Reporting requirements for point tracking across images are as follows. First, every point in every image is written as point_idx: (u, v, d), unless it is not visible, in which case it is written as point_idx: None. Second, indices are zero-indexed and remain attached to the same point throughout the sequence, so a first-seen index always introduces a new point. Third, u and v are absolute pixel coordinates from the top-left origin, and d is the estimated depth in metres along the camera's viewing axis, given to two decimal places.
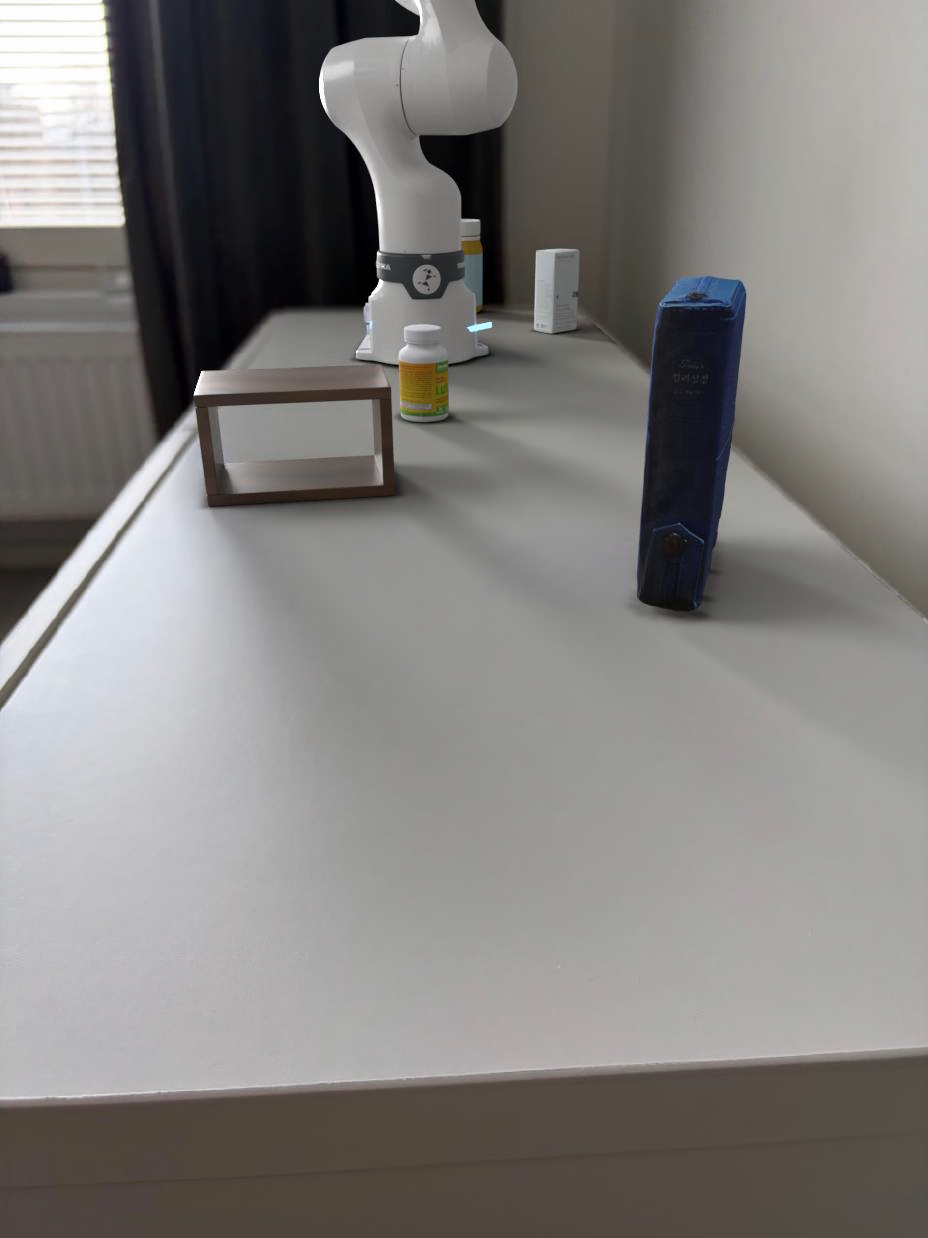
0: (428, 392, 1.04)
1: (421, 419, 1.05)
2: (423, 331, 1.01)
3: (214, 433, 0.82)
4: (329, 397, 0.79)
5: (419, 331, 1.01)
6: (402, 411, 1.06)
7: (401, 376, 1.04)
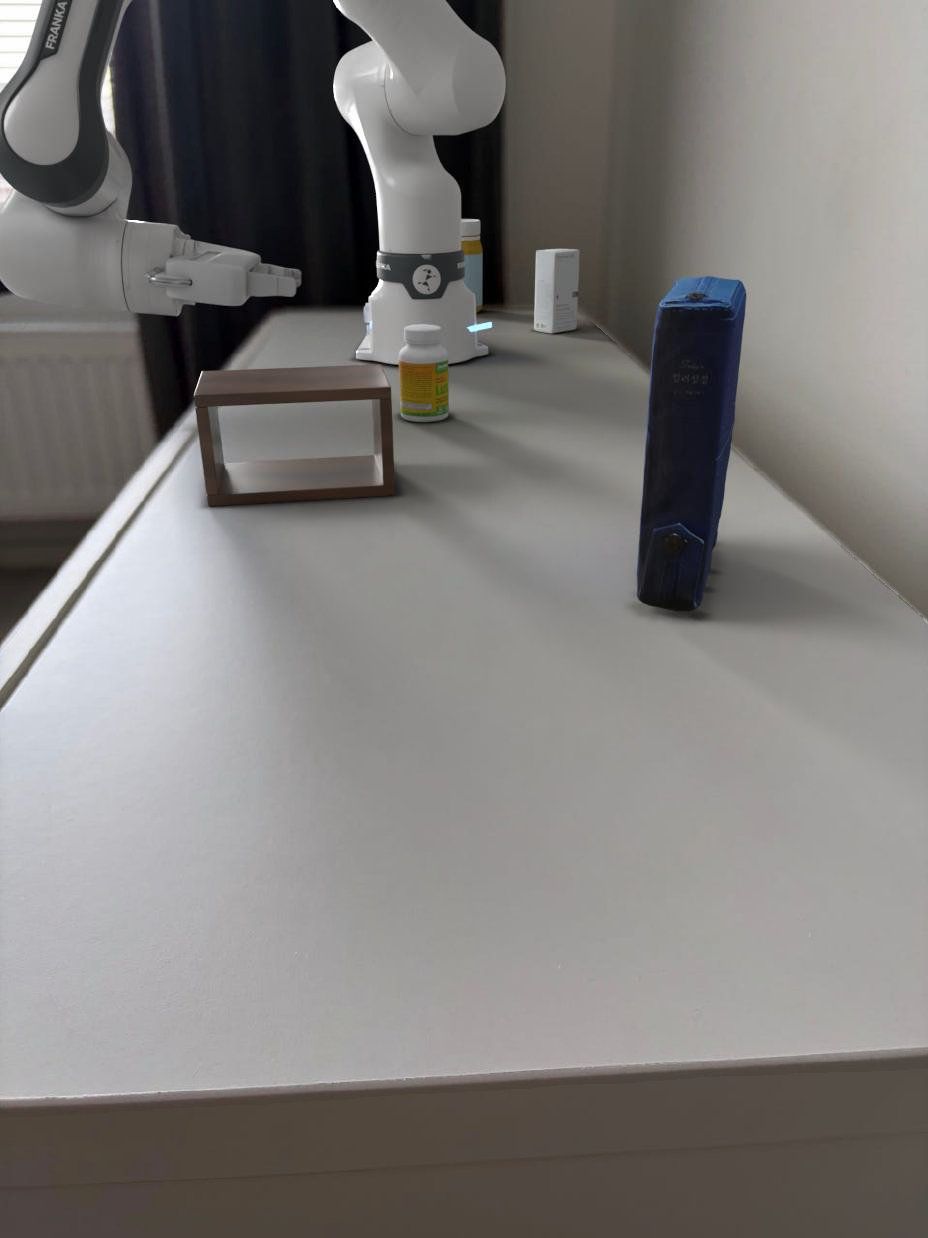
0: (428, 392, 1.04)
1: (421, 419, 1.05)
2: (423, 331, 1.01)
3: (214, 433, 0.82)
4: (329, 397, 0.79)
5: (419, 331, 1.01)
6: (402, 411, 1.06)
7: (401, 376, 1.04)
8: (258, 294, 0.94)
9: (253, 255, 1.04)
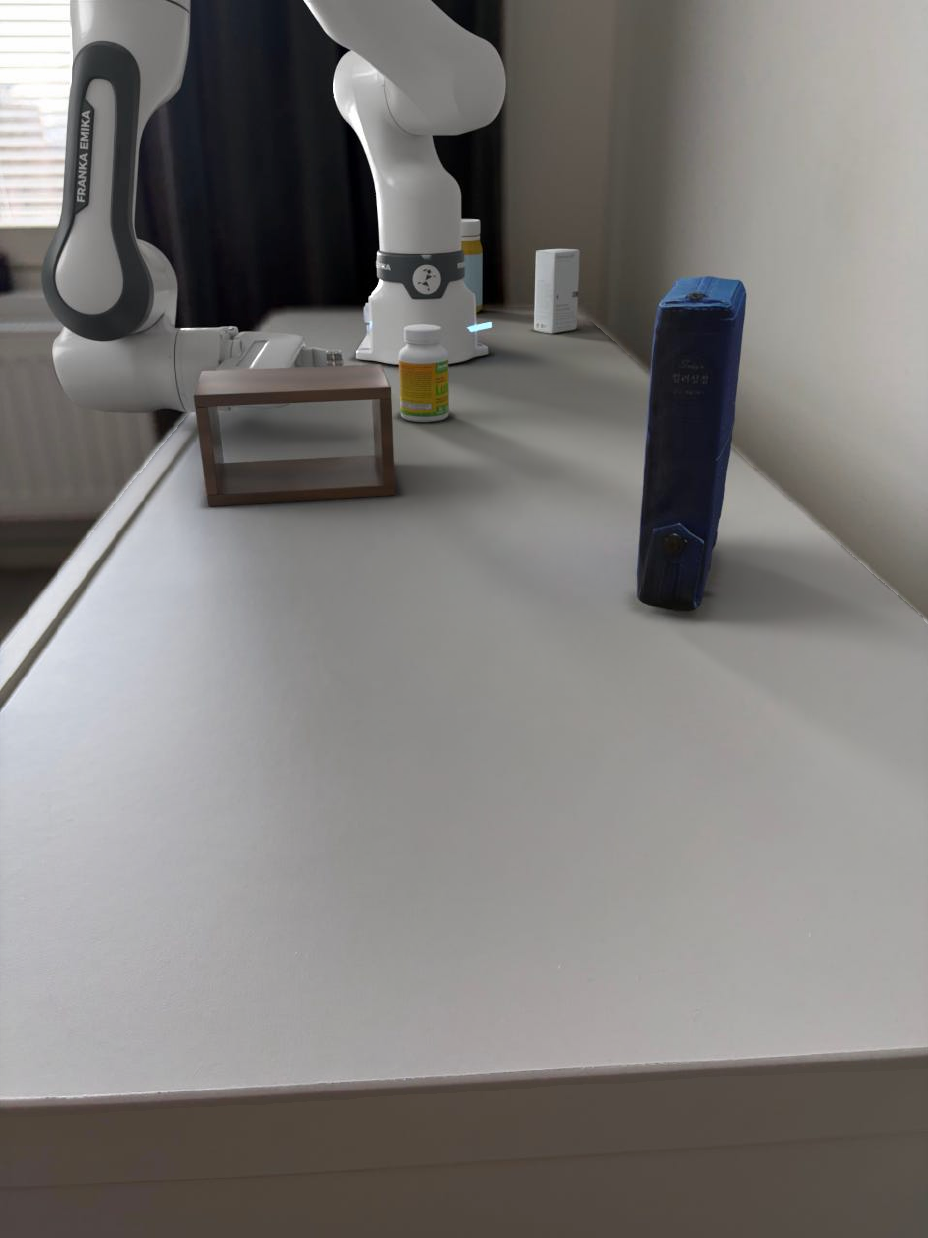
0: (428, 392, 1.04)
1: (421, 419, 1.05)
2: (423, 331, 1.01)
3: (214, 433, 0.82)
4: (329, 397, 0.79)
5: (419, 331, 1.01)
6: (402, 411, 1.06)
7: (401, 376, 1.04)
8: None
9: (297, 340, 1.09)
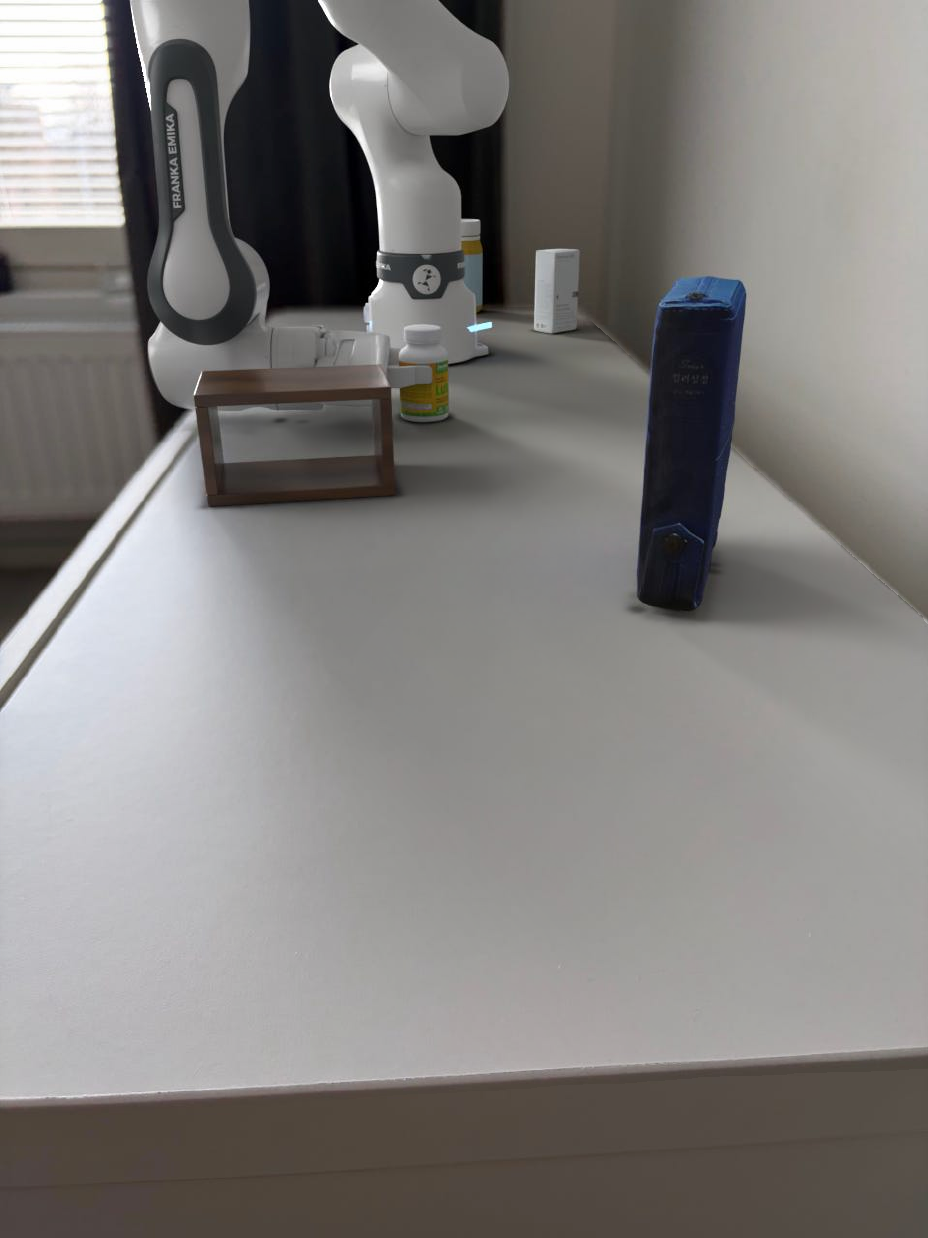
0: (428, 392, 1.04)
1: (421, 419, 1.05)
2: (423, 331, 1.01)
3: (214, 433, 0.82)
4: (329, 397, 0.79)
5: (419, 331, 1.01)
6: (402, 411, 1.06)
7: None
8: (399, 386, 1.01)
9: (384, 339, 1.10)
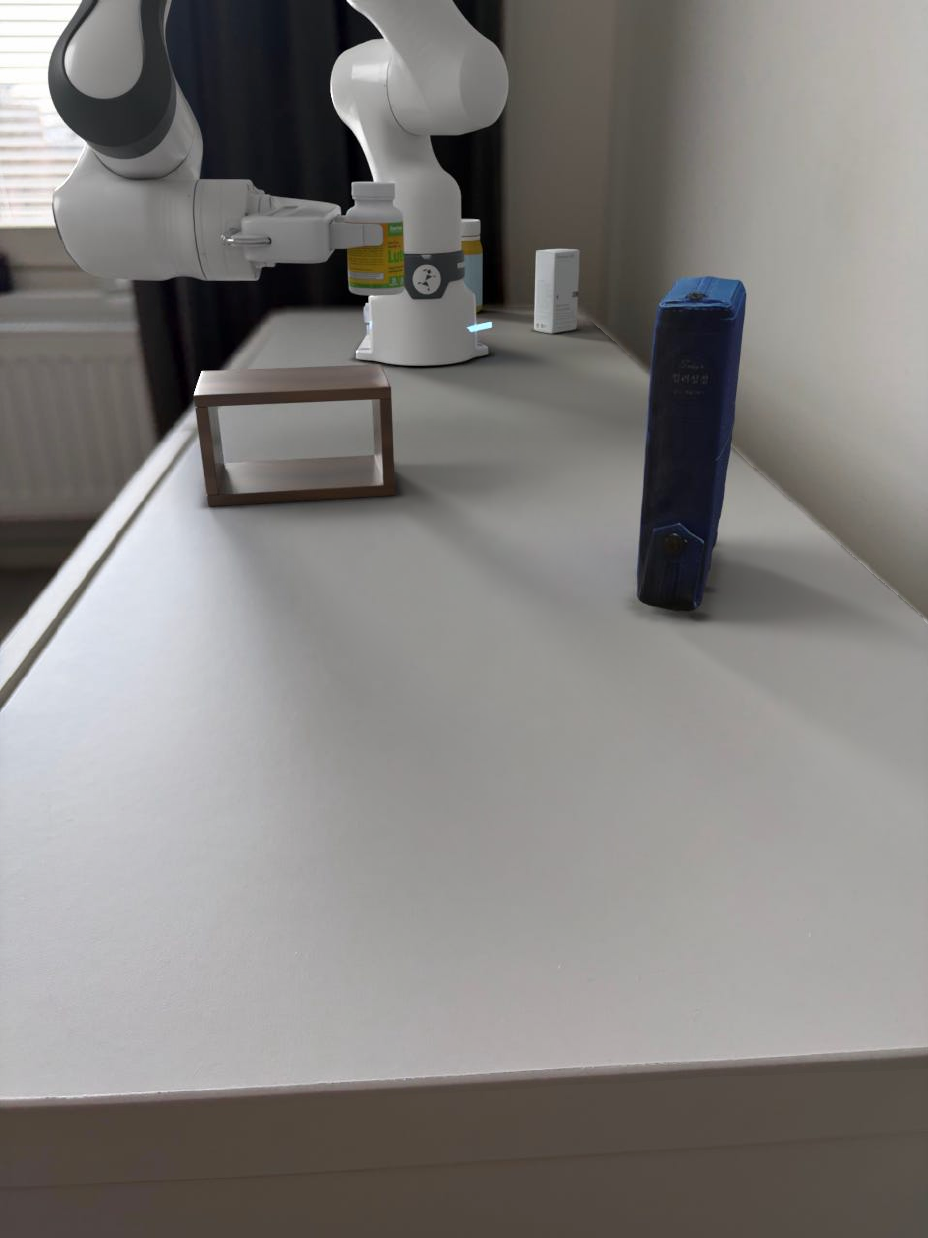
0: (380, 258, 0.89)
1: (371, 291, 0.91)
2: (373, 184, 0.87)
3: (214, 433, 0.82)
4: (329, 397, 0.79)
5: (368, 184, 0.87)
6: (350, 283, 0.92)
7: None
8: (343, 246, 0.86)
9: (332, 206, 0.95)
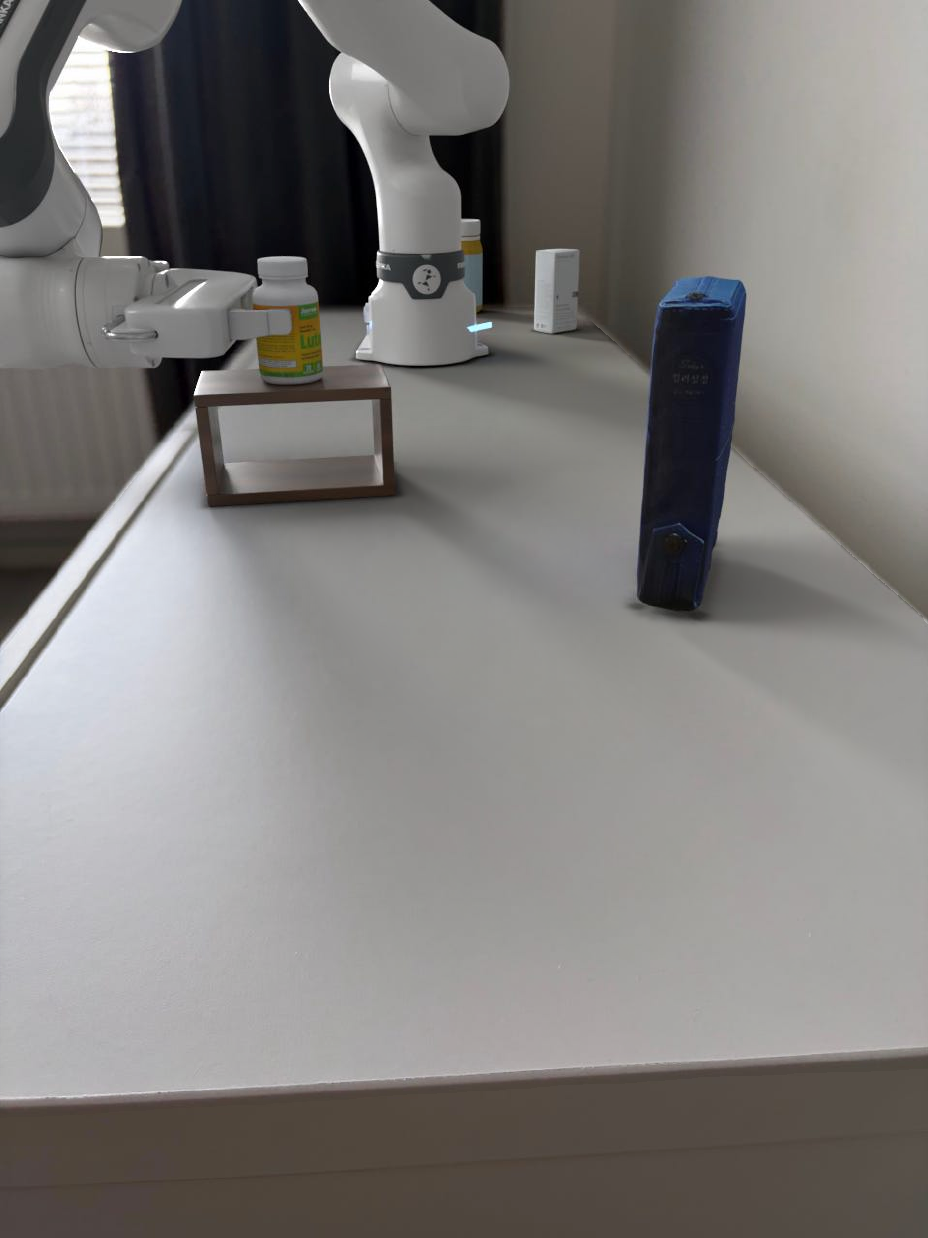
0: (291, 344, 0.79)
1: (283, 381, 0.80)
2: (280, 262, 0.77)
3: (214, 433, 0.82)
4: (329, 397, 0.79)
5: (274, 262, 0.77)
6: (260, 371, 0.81)
7: None
8: (244, 337, 0.75)
9: (245, 279, 0.85)
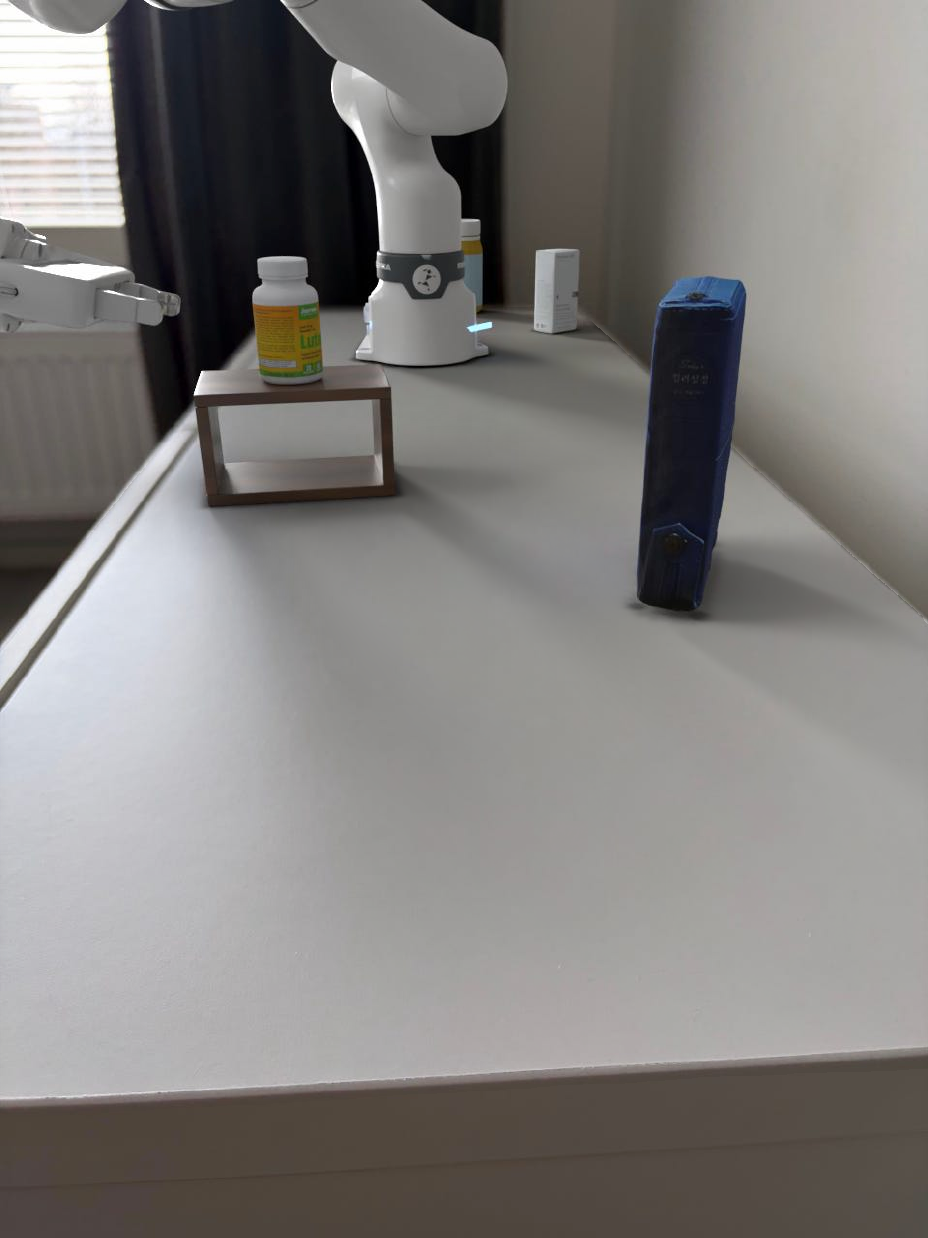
0: (291, 344, 0.79)
1: (283, 381, 0.80)
2: (280, 262, 0.77)
3: (214, 433, 0.82)
4: (329, 397, 0.79)
5: (274, 262, 0.77)
6: (260, 371, 0.81)
7: (256, 324, 0.79)
8: (109, 318, 0.74)
9: (123, 271, 0.85)
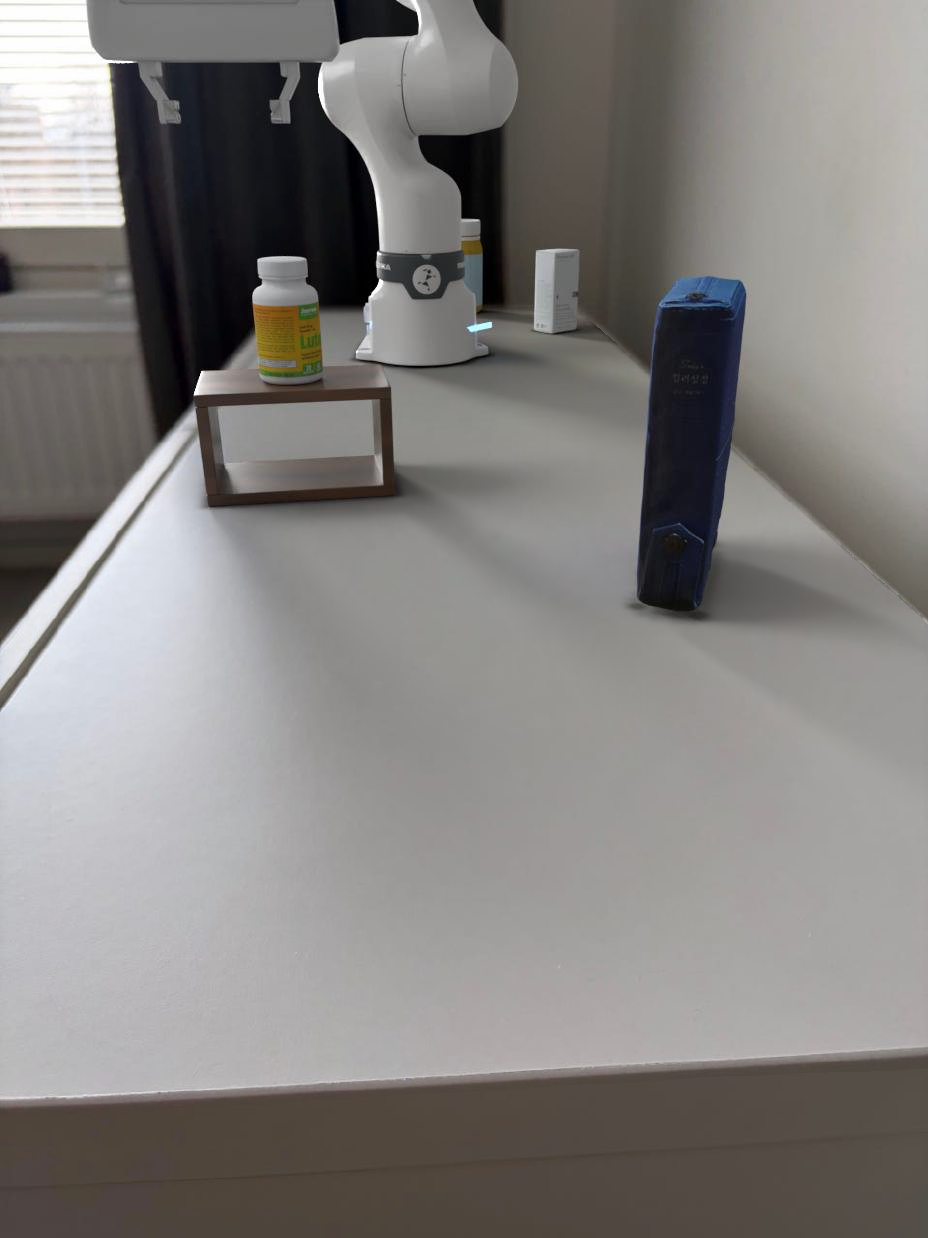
0: (291, 344, 0.79)
1: (283, 381, 0.80)
2: (280, 262, 0.77)
3: (214, 433, 0.82)
4: (329, 397, 0.79)
5: (274, 262, 0.77)
6: (260, 371, 0.81)
7: (256, 324, 0.79)
8: (297, 75, 0.81)
9: None
